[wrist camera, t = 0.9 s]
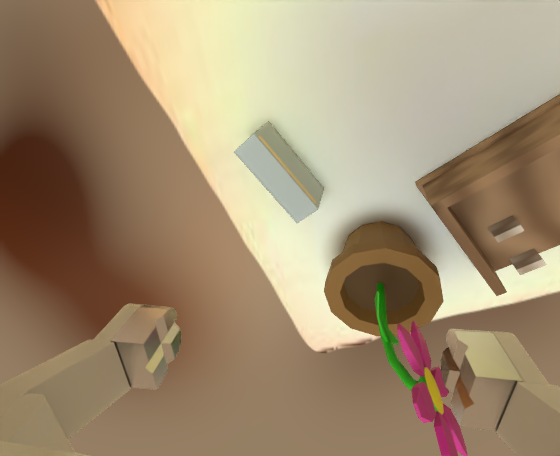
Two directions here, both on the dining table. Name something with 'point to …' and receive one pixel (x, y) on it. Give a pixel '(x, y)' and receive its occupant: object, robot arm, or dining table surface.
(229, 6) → the dining table surface
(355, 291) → the flowerpot
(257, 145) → the grey box with stripe
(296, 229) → the dining table surface
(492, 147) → the wooden box
